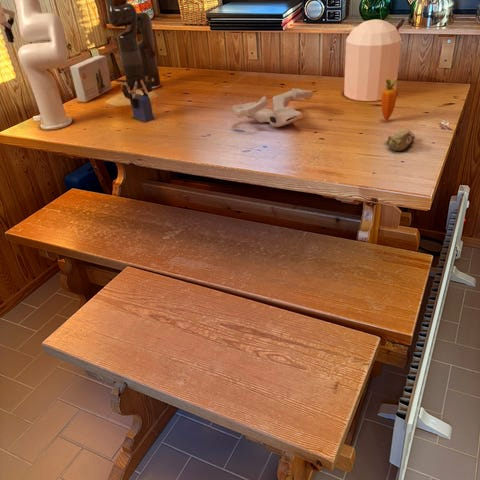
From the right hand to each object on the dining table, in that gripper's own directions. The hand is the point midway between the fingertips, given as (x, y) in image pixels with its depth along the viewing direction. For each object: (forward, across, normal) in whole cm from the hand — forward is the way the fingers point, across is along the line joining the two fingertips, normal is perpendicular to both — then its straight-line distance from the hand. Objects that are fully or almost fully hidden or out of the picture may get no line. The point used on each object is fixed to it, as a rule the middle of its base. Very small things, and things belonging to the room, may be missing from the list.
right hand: (141, 105), depth 187 cm
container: (+5, +73, -60) cm, 94 cm away
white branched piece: (+5, +26, -52) cm, 58 cm away
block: (+5, 0, 0) cm, 5 cm away
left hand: (-32, -45, +3) cm, 56 cm away
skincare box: (+5, +5, +48) cm, 49 cm away
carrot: (+5, +49, -82) cm, 96 cm away
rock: (+5, +33, -97) cm, 103 cm away
